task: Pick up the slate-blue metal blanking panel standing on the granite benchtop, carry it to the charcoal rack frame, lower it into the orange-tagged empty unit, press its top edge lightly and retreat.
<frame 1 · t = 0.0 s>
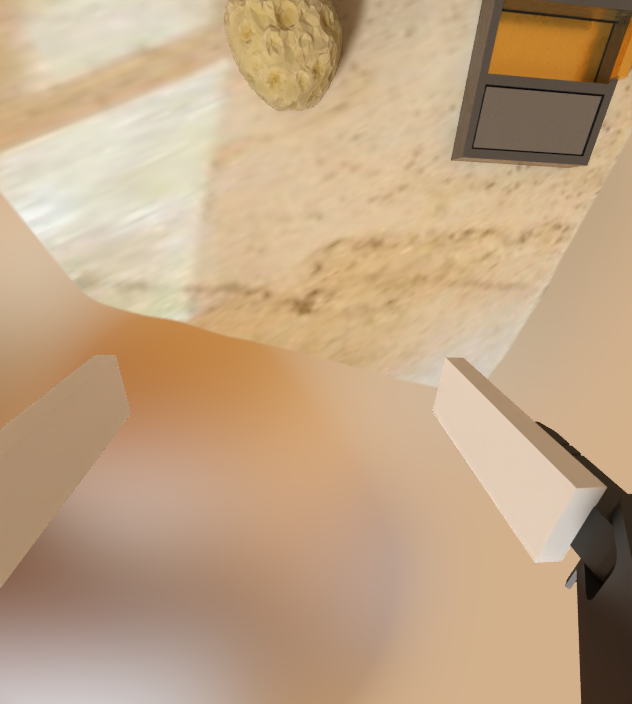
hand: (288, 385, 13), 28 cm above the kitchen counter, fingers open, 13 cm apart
decorative item: (287, 59, 30), on the kitchen counter
rack: (551, 13, 30), on the kitchen counter
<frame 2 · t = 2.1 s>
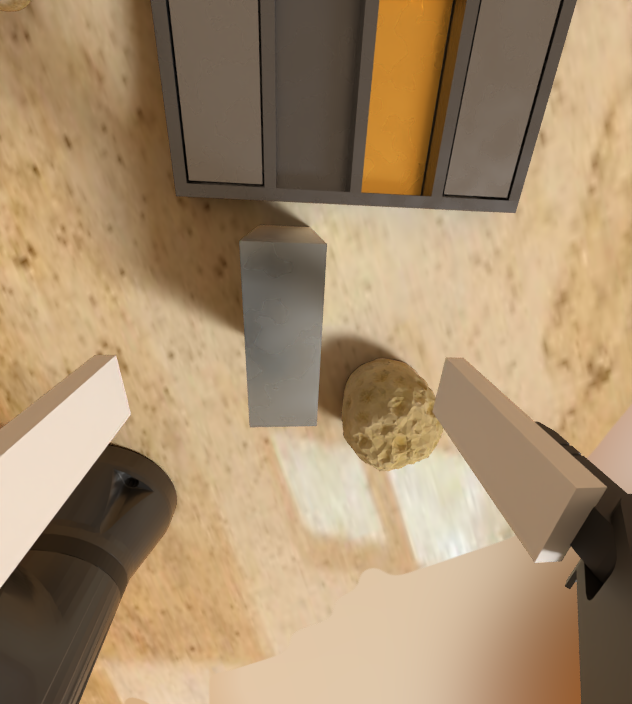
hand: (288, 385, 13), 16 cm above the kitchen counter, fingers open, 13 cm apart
decorative item: (379, 394, 33), on the kitchen counter
rack: (357, 94, 22), on the kitchen counter
panel: (284, 290, 27), on the kitchen counter
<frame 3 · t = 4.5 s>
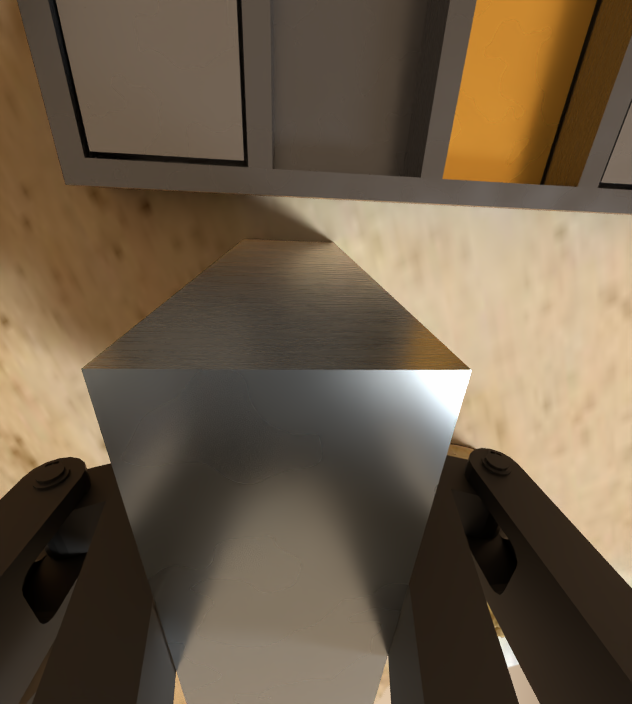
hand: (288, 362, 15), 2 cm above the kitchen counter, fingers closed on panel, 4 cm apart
decorative item: (429, 488, 22), on the kitchen counter
panel: (288, 347, 16), on the kitchen counter, touching gripper
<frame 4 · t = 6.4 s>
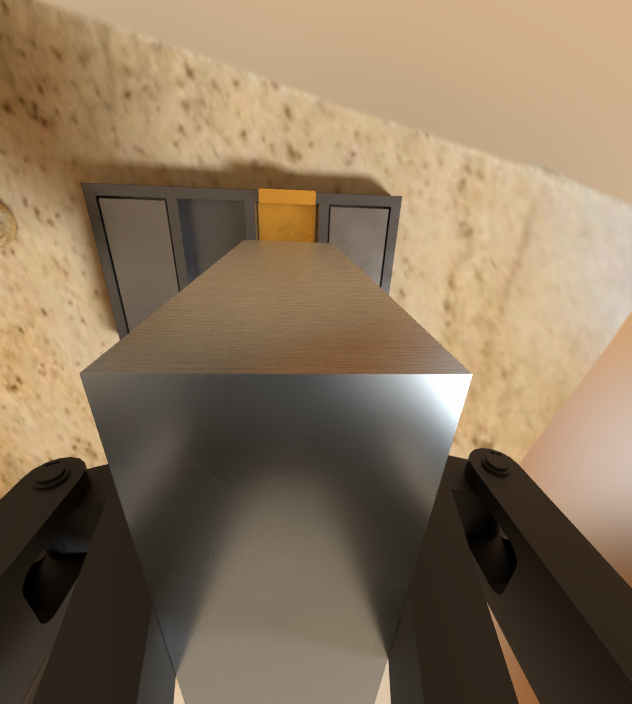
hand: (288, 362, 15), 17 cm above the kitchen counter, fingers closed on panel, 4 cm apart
decorative mushroom: (1, 220, 26), on the kitchen counter
rack: (255, 273, 30), on the kitchen counter
panel: (288, 347, 16), point 16 cm above the kitchen counter, touching gripper
when the fingers open (3 cm above the kitchen counter, at t = 8.6 s): panel stays where it is, resting on rack.
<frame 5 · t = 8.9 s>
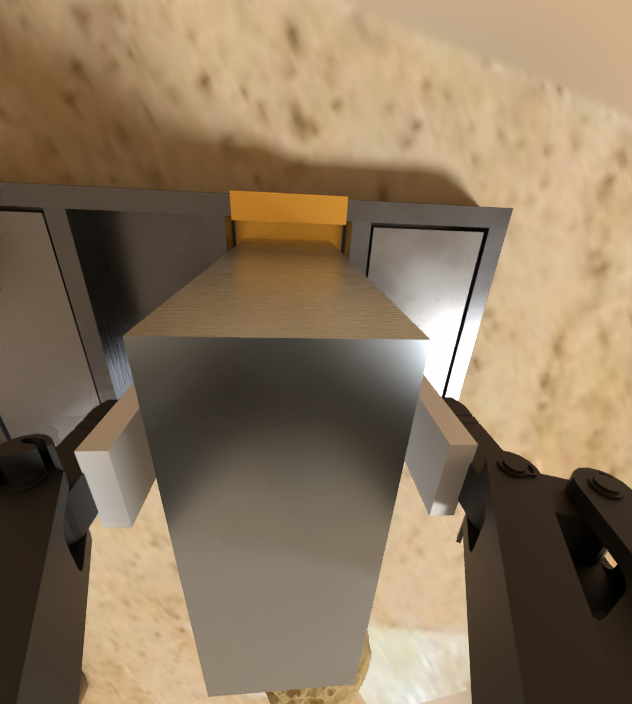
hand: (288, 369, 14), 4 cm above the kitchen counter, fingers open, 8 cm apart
decorative item: (308, 585, 29), on the kitchen counter
rack: (234, 335, 17), on the kitchen counter
panel: (287, 340, 17), point 1 cm above the kitchen counter, touching rack
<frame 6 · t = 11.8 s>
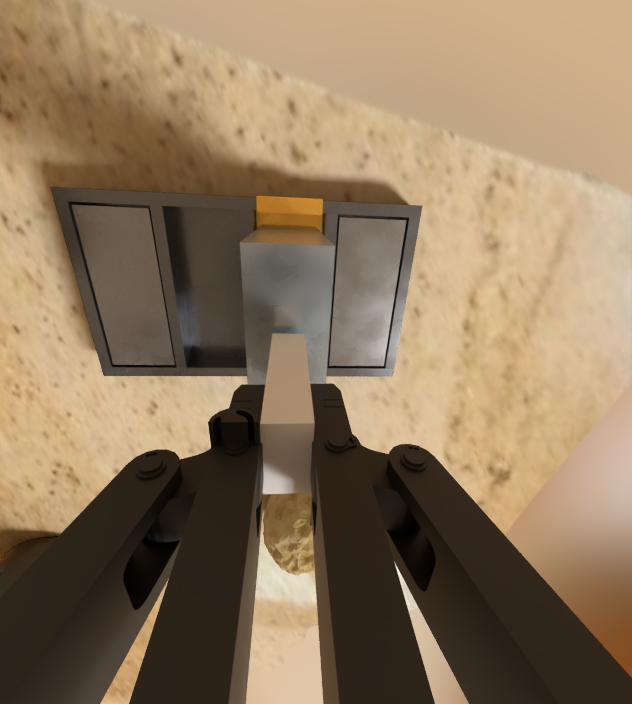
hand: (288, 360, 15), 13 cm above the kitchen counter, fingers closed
decorative item: (304, 493, 38), on the kitchen counter
rack: (253, 289, 26), on the kitchen counter
panel: (288, 292, 26), point 1 cm above the kitchen counter, touching rack
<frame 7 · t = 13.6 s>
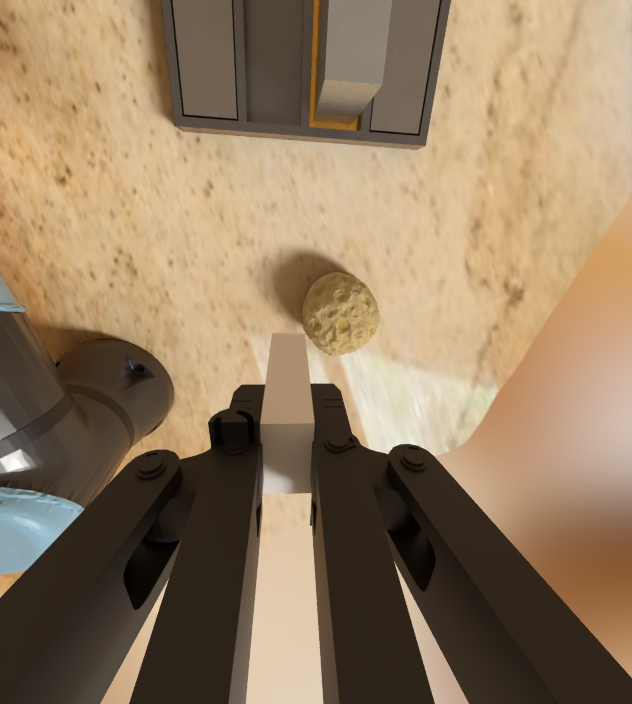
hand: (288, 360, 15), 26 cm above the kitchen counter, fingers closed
decorative item: (335, 305, 42), on the kitchen counter
rack: (306, 54, 30), on the kitchen counter
panel: (337, 55, 30), point 1 cm above the kitchen counter, touching rack
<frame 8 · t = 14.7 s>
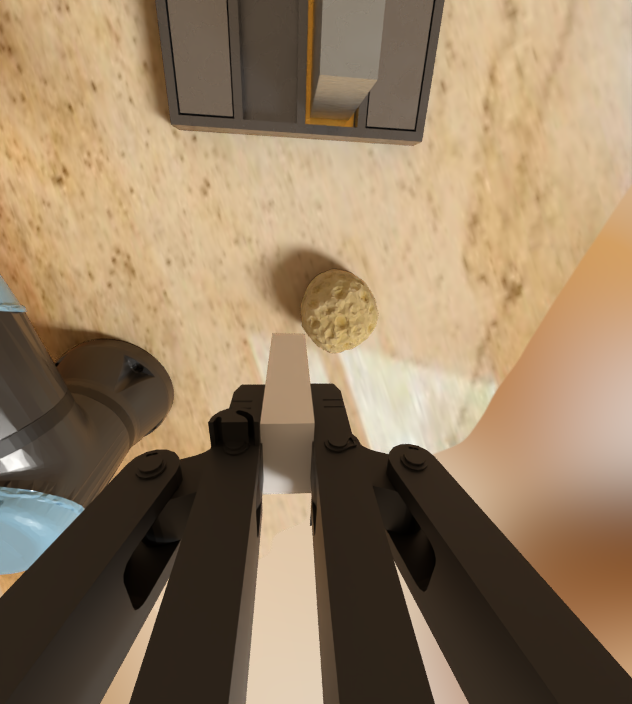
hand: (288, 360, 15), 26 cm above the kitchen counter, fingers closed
decorative item: (334, 302, 42), on the kitchen counter
rack: (301, 51, 30), on the kitchen counter
panel: (332, 52, 30), point 1 cm above the kitchen counter, touching rack
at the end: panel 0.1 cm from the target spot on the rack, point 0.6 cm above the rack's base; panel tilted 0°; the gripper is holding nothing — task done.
